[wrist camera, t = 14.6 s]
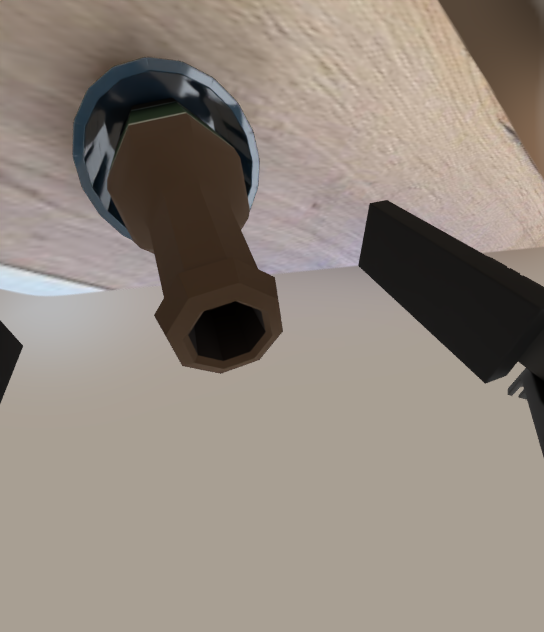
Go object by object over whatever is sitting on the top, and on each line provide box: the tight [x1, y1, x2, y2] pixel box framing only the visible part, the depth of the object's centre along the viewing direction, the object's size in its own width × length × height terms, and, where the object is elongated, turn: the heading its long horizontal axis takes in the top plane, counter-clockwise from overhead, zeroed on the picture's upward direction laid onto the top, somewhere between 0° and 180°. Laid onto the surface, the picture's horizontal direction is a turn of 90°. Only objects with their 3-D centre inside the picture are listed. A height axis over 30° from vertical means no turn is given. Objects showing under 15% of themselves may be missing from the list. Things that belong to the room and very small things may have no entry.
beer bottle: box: [107, 98, 283, 374], centre depth 17 cm, size 8×8×24 cm
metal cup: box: [72, 57, 260, 240], centre depth 23 cm, size 12×12×8 cm
